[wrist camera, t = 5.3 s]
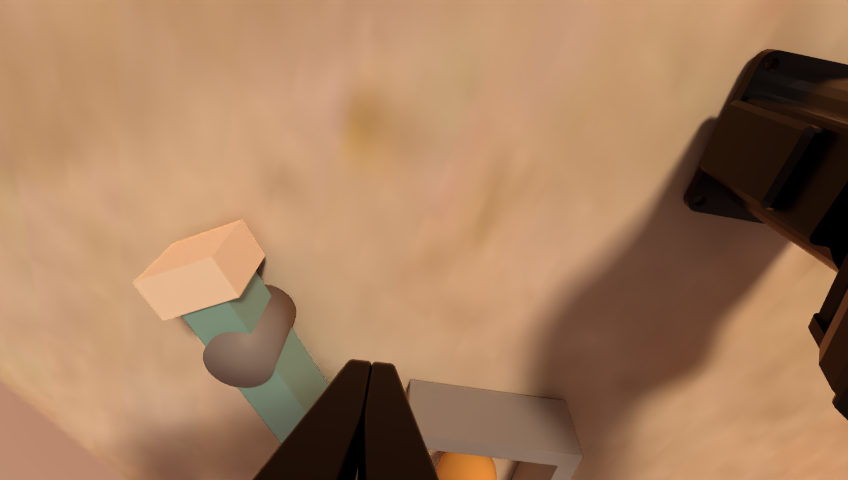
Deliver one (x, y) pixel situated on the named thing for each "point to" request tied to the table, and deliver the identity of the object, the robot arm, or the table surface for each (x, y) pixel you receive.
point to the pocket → (498, 428)
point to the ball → (465, 467)
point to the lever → (237, 321)
